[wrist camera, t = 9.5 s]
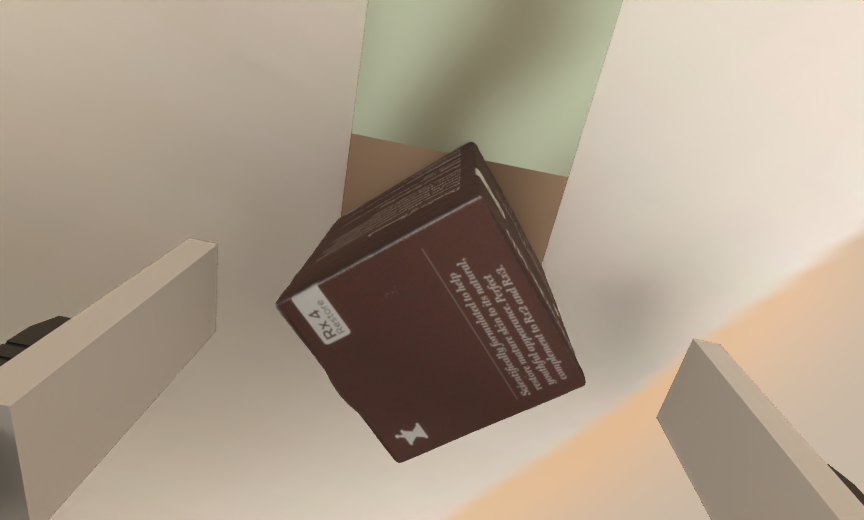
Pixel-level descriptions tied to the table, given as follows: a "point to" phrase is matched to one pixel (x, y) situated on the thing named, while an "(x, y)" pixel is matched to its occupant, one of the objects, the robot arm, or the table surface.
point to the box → (433, 310)
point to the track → (478, 95)
